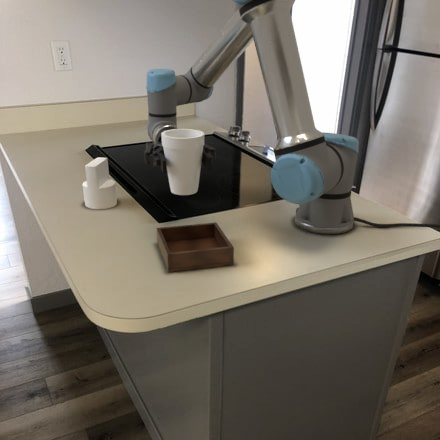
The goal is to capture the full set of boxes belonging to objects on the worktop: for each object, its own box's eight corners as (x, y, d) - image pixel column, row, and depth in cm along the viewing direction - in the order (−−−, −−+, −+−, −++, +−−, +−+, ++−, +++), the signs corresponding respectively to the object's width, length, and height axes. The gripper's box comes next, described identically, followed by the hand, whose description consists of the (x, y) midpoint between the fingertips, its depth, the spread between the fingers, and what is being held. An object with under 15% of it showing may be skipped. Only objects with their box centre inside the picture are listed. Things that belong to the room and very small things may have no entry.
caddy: (216, 238, 120) (216, 222, 118) (233, 264, 108) (233, 247, 106) (157, 244, 117) (156, 227, 114) (168, 272, 105) (167, 254, 102)
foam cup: (183, 181, 119) (182, 126, 113) (212, 190, 114) (212, 133, 108) (155, 191, 113) (152, 133, 106) (184, 200, 108) (183, 140, 101)
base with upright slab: (110, 210, 135) (105, 167, 129) (79, 207, 136) (73, 165, 130) (121, 199, 143) (117, 158, 137) (92, 197, 144) (87, 156, 138)
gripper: (210, 153, 129) (235, 178, 111) (127, 158, 124) (138, 185, 106) (211, 124, 125) (236, 145, 107) (124, 127, 120) (135, 150, 102)
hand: (187, 165), depth 106 cm, fingers closed on foam cup, 9 cm apart
